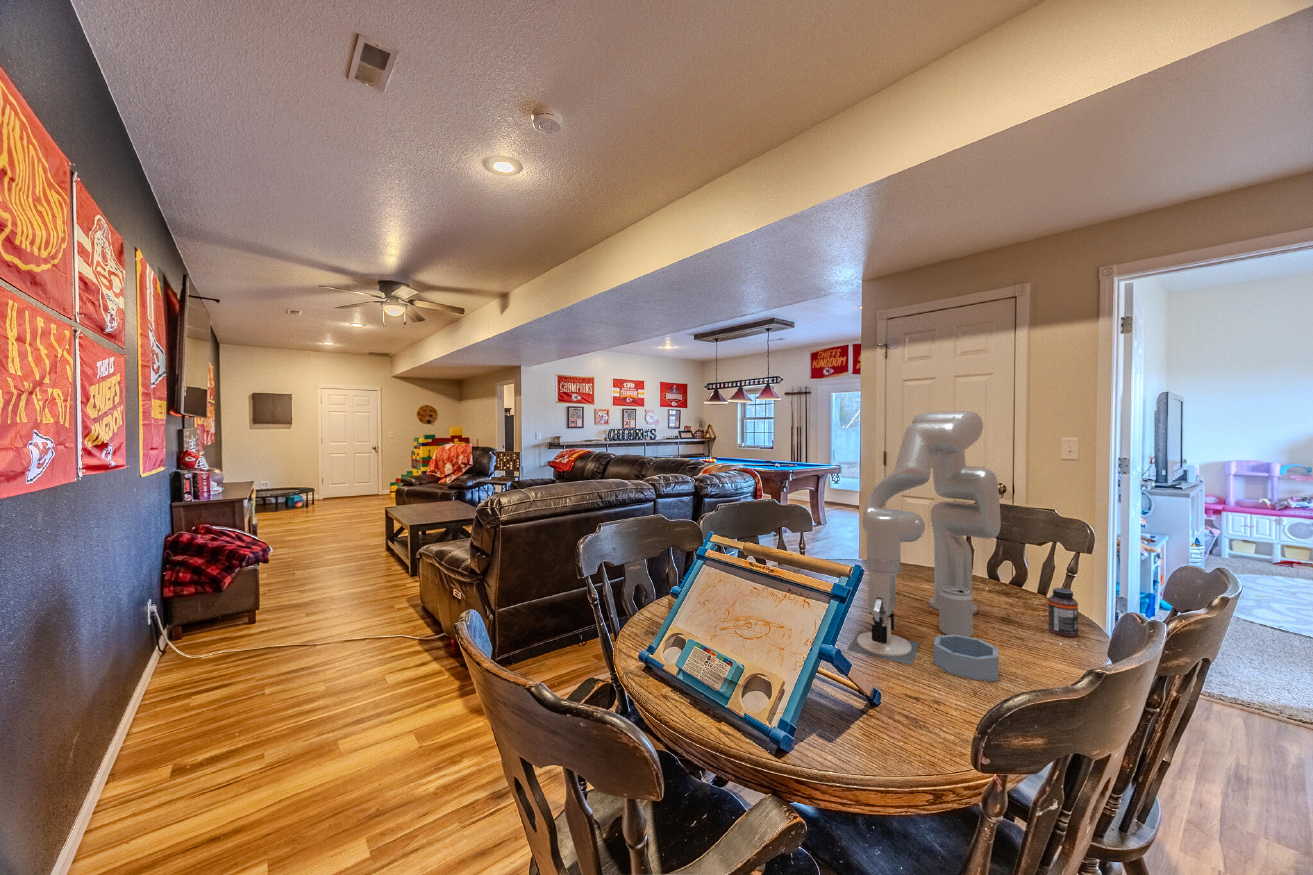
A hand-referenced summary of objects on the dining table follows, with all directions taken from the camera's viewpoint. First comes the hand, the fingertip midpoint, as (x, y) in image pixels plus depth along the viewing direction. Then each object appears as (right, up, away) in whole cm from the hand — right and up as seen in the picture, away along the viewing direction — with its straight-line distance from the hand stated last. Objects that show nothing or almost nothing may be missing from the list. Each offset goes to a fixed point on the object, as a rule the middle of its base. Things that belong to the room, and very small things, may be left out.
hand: (883, 634), depth 120 cm
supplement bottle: (+50, -3, +8) cm, 51 cm away
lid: (0, -3, 0) cm, 3 cm away
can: (+22, -3, +8) cm, 24 cm away
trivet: (0, -3, 0) cm, 3 cm away
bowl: (+14, -3, -10) cm, 17 cm away
